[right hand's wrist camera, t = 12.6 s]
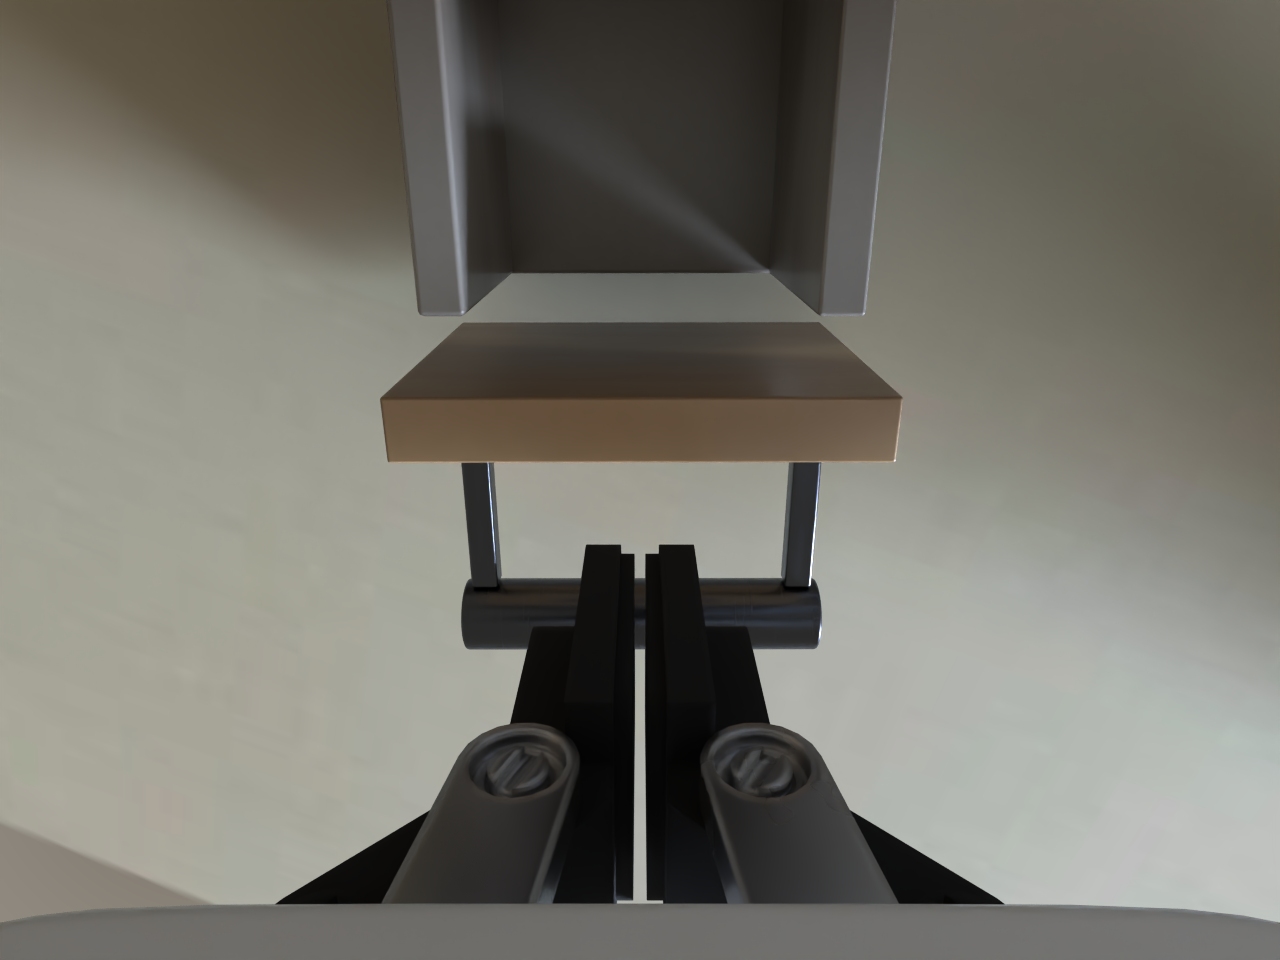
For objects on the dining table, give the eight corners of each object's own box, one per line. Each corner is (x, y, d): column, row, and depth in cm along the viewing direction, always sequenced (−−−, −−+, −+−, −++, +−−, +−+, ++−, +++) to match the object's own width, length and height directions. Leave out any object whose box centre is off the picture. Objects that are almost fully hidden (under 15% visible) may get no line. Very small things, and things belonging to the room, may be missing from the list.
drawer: (800, 568, 23) (863, 728, 16) (482, 568, 23) (419, 729, 16) (878, -396, 15) (1050, -802, 9) (403, -395, 15) (230, -801, 9)
